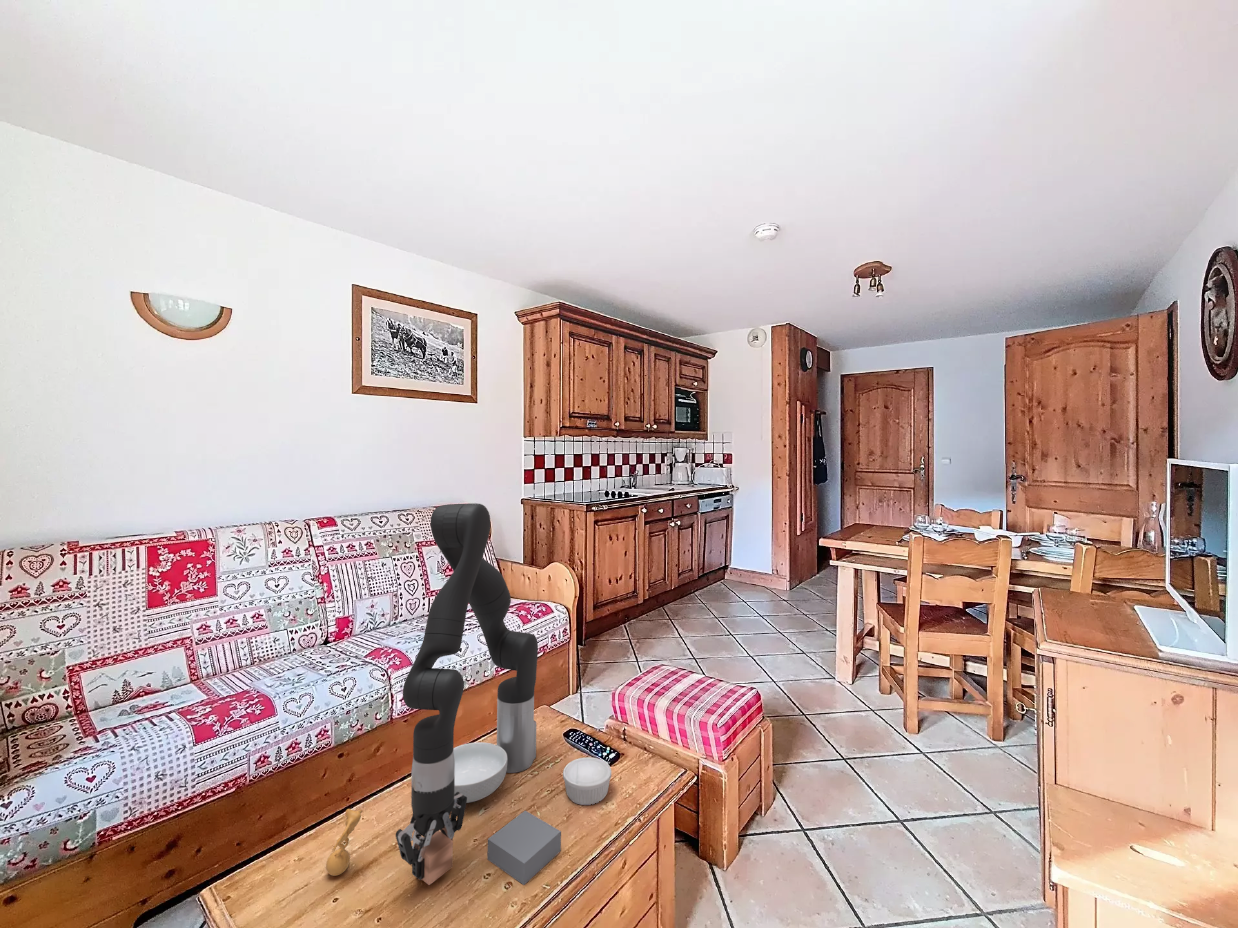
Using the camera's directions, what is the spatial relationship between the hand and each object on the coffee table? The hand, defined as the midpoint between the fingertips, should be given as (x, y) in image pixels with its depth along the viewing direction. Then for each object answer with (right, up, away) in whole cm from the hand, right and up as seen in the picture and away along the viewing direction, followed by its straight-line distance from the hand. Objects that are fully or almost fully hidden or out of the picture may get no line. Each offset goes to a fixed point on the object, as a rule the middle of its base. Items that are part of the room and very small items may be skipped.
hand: (432, 866), depth 95 cm
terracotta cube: (0, 0, 0) cm, 1 cm away
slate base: (+16, -2, +5) cm, 17 cm away
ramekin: (+27, -2, +25) cm, 37 cm away
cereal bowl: (0, -2, +24) cm, 24 cm away
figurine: (-17, -2, +1) cm, 17 cm away
